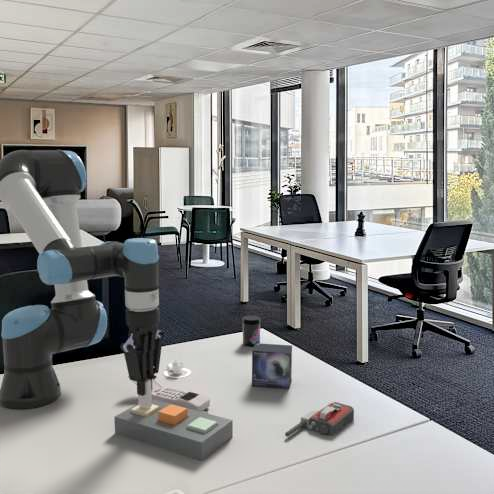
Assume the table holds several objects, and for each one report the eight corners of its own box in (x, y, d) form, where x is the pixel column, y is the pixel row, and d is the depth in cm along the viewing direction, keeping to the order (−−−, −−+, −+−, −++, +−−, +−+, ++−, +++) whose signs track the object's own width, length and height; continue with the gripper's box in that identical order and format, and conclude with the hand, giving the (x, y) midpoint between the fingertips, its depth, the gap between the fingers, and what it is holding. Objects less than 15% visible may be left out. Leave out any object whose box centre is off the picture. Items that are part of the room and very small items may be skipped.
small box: (250, 387, 161) (251, 350, 160) (254, 378, 168) (254, 342, 166) (289, 389, 160) (290, 352, 158) (292, 380, 166) (292, 344, 164)
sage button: (187, 444, 129) (187, 425, 128) (200, 435, 133) (199, 417, 132) (205, 449, 127) (205, 430, 126) (217, 440, 131) (217, 421, 130)
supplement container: (246, 347, 194) (246, 321, 193) (240, 342, 199) (240, 316, 198) (262, 345, 196) (262, 319, 195) (256, 340, 201) (256, 314, 200)
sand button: (131, 427, 137) (131, 409, 136) (144, 419, 141) (144, 402, 140) (147, 432, 135) (146, 413, 134) (159, 424, 139) (159, 406, 138)
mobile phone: (141, 368, 159) (218, 386, 147) (142, 389, 160) (218, 409, 148) (125, 375, 154) (203, 395, 141) (126, 397, 155) (204, 419, 142)
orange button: (158, 430, 133) (158, 411, 132) (171, 422, 137) (171, 404, 136) (175, 435, 130) (174, 416, 130) (187, 427, 134) (187, 408, 134)
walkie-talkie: (325, 408, 148) (282, 439, 133) (326, 392, 148) (282, 420, 132) (357, 418, 143) (316, 451, 127) (358, 400, 143) (316, 431, 127)
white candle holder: (166, 368, 177) (166, 355, 176) (193, 368, 176) (193, 355, 176) (161, 379, 168) (160, 365, 167) (189, 379, 168) (188, 366, 167)
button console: (115, 433, 135) (114, 416, 134) (149, 413, 145) (148, 397, 144) (202, 460, 123) (201, 442, 122) (232, 436, 133) (232, 420, 132)
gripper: (136, 316, 126) (139, 421, 130) (173, 303, 137) (175, 399, 141) (109, 311, 130) (113, 413, 133) (148, 299, 141) (150, 393, 144)
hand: (145, 406), depth 137 cm, fingers closed
